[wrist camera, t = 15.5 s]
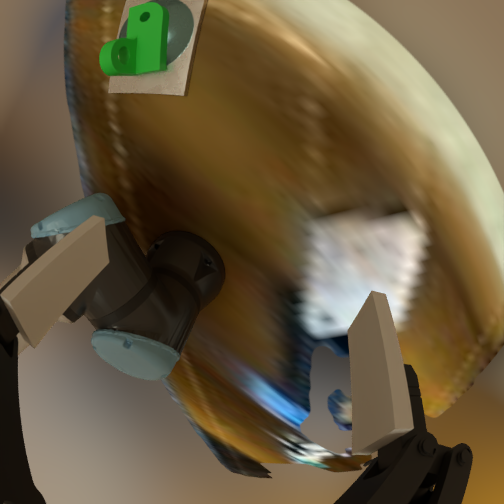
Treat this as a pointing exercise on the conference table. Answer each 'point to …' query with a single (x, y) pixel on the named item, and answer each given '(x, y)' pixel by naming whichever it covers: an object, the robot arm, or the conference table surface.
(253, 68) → the conference table surface
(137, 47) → the mechanical part
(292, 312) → the conference table surface
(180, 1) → the carrier plate
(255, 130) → the conference table surface
